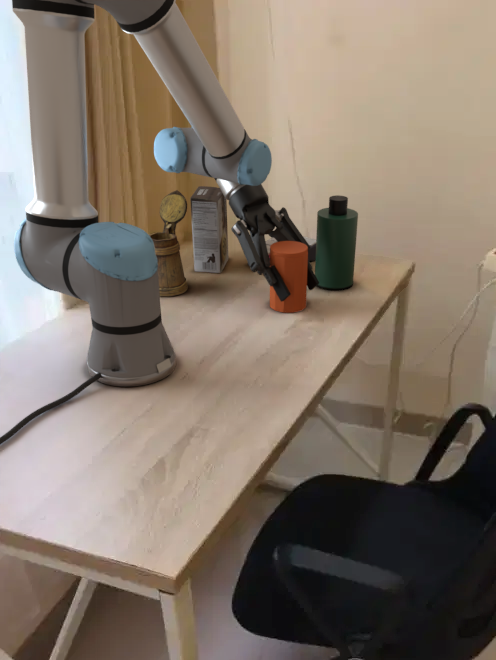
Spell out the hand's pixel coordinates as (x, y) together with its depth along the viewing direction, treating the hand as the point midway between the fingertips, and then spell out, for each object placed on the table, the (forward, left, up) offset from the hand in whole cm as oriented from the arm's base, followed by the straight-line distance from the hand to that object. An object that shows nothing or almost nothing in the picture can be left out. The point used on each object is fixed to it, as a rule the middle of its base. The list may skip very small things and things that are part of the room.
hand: (300, 292), depth 149 cm
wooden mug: (-17, +25, -4) cm, 31 cm away
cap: (-1, +3, -4) cm, 5 cm away
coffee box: (-4, +31, -4) cm, 32 cm away
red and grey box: (+12, +25, -4) cm, 28 cm away
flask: (+14, +8, -4) cm, 17 cm away
